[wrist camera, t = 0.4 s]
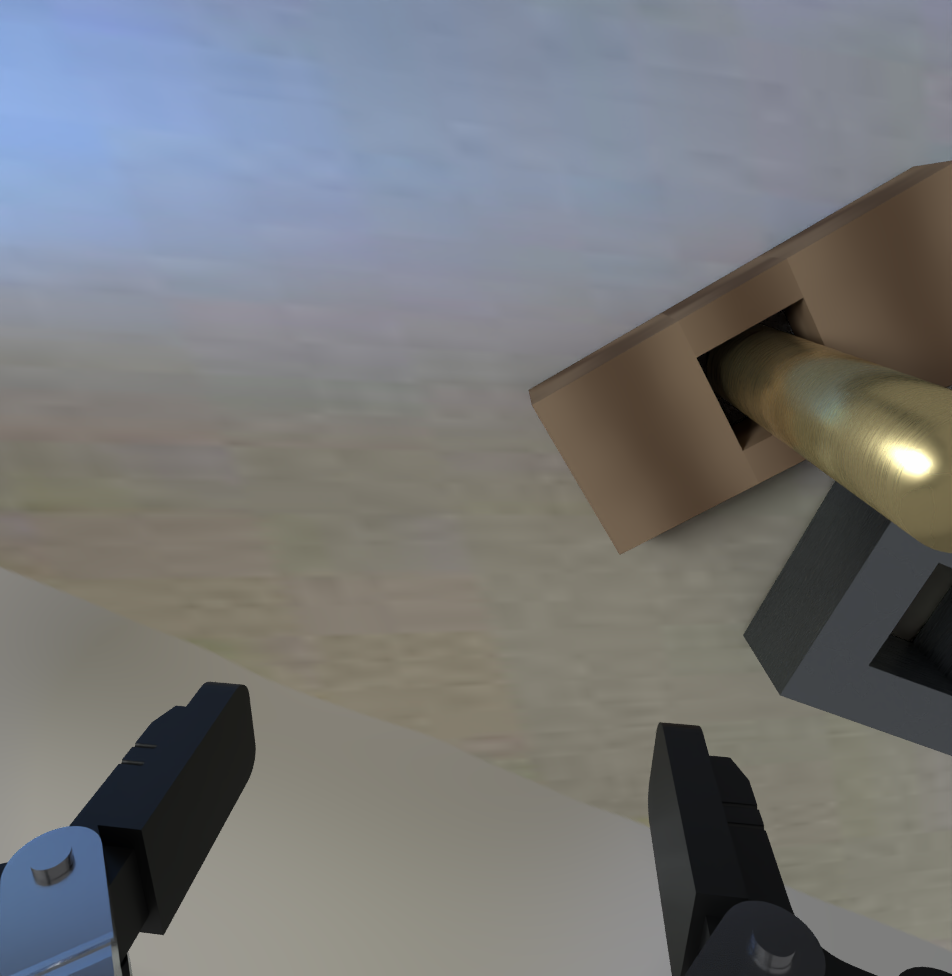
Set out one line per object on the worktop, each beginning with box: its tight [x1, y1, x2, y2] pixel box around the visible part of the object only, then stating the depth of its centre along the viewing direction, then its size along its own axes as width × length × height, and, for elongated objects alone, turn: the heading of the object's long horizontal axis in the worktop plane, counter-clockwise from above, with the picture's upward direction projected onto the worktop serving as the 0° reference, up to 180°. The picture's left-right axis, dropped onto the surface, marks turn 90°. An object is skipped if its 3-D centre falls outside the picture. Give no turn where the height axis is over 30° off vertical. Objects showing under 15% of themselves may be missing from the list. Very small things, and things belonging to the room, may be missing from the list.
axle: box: [707, 324, 952, 553], centre depth 24 cm, size 4×4×16 cm
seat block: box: [743, 481, 952, 756], centre depth 33 cm, size 11×11×5 cm
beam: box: [529, 161, 952, 554], centre depth 30 cm, size 18×8×3 cm, turn 121°
